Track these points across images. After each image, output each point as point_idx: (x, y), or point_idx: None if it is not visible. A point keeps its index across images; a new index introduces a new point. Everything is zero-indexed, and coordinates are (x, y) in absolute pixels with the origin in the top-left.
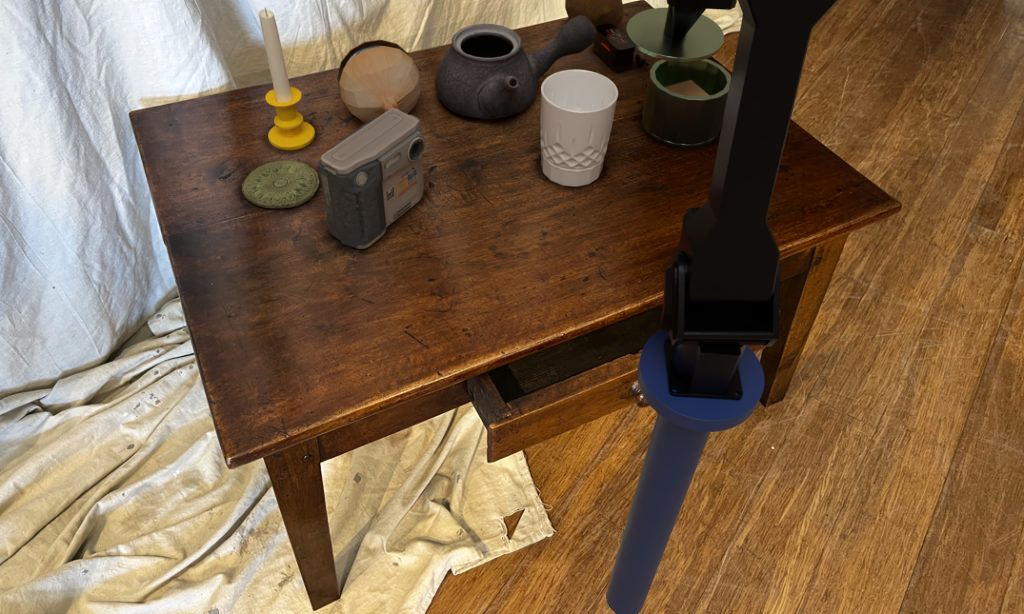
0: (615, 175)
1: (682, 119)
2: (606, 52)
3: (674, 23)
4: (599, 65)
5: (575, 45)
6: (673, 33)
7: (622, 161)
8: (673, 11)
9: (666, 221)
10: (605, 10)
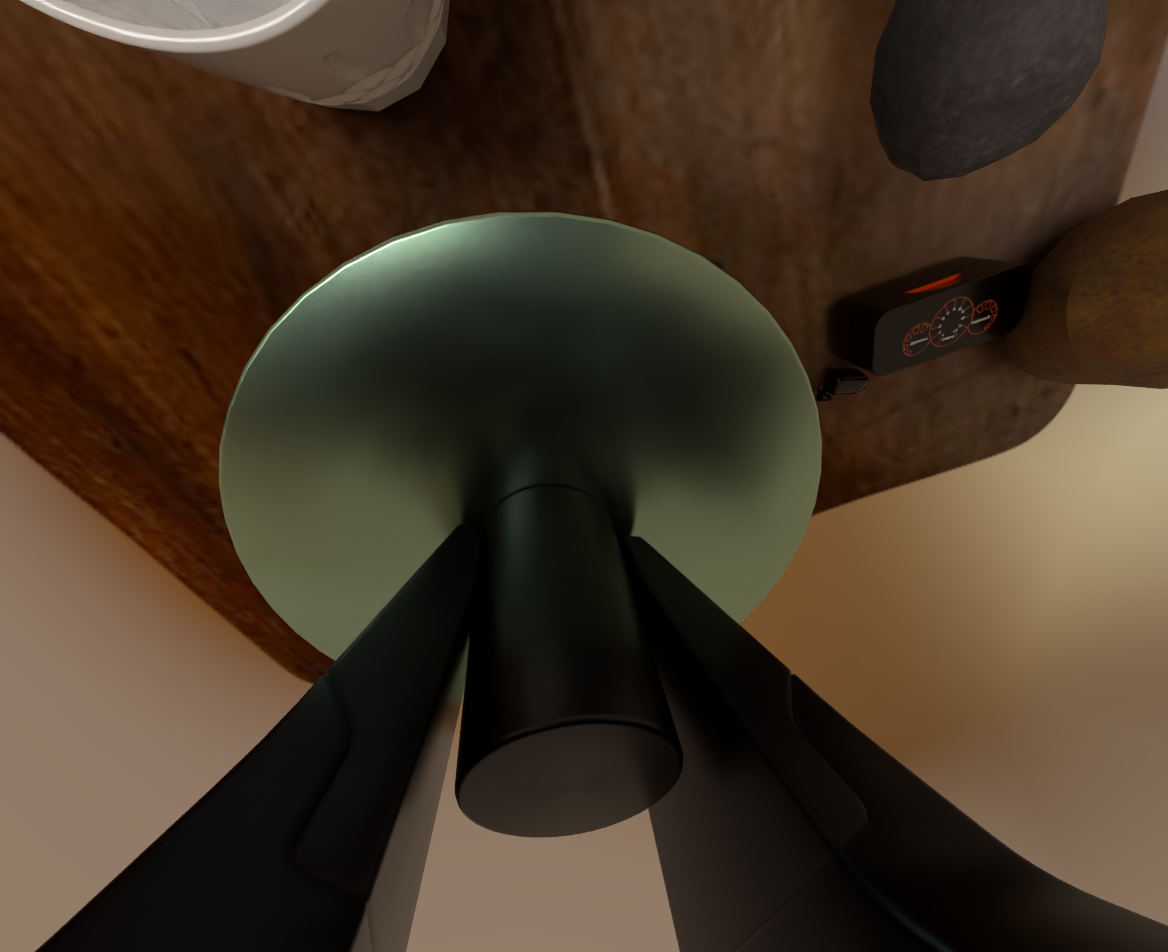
0: (317, 160)
1: None
2: (909, 285)
3: (397, 593)
4: (884, 261)
5: (899, 21)
6: (448, 538)
7: (399, 208)
8: (350, 671)
9: (105, 277)
10: (1079, 308)
